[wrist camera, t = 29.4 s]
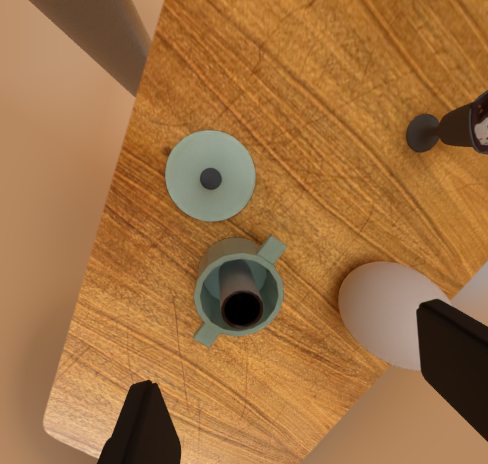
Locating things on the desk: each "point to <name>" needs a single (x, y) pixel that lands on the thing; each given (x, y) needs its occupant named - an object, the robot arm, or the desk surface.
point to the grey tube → (239, 295)
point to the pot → (263, 275)
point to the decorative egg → (386, 310)
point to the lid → (210, 175)
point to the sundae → (453, 128)
